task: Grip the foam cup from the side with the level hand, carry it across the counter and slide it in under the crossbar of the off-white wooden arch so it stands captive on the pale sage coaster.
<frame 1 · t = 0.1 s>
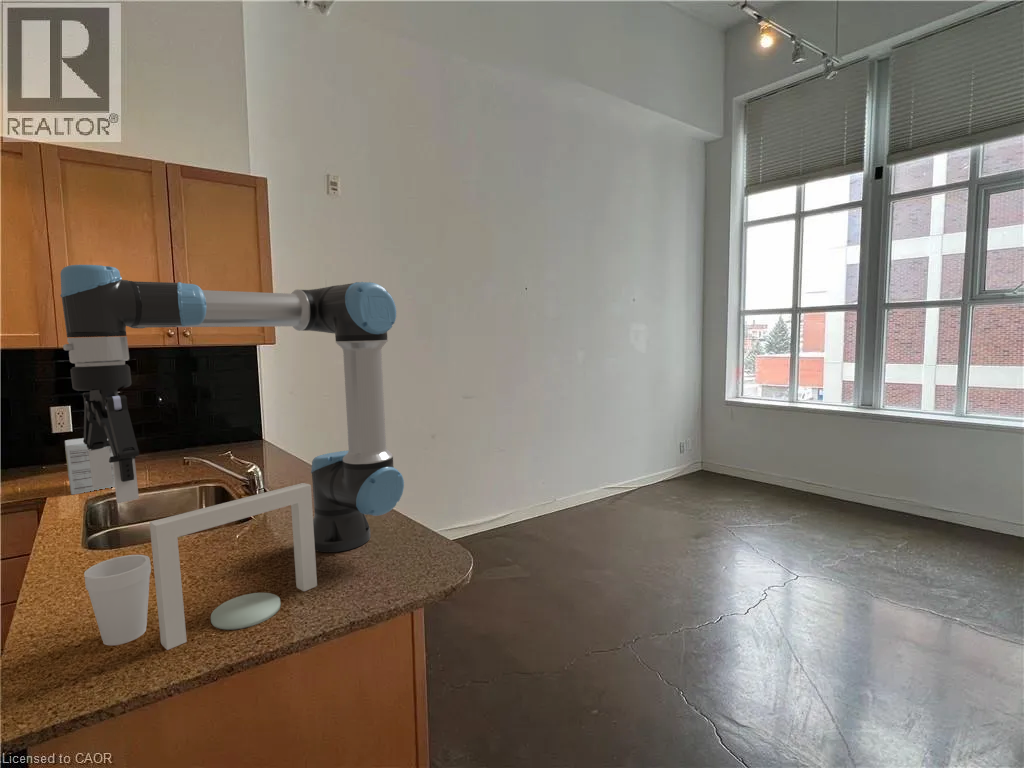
hand: (114, 493, 86), 28 cm above the worktop, tool pointing down, fingers open, 13 cm apart
foam cup: (125, 636, 94), on the worktop
supplement box: (93, 487, 189), on the worktop
keeper arch: (246, 612, 101), on the worktop
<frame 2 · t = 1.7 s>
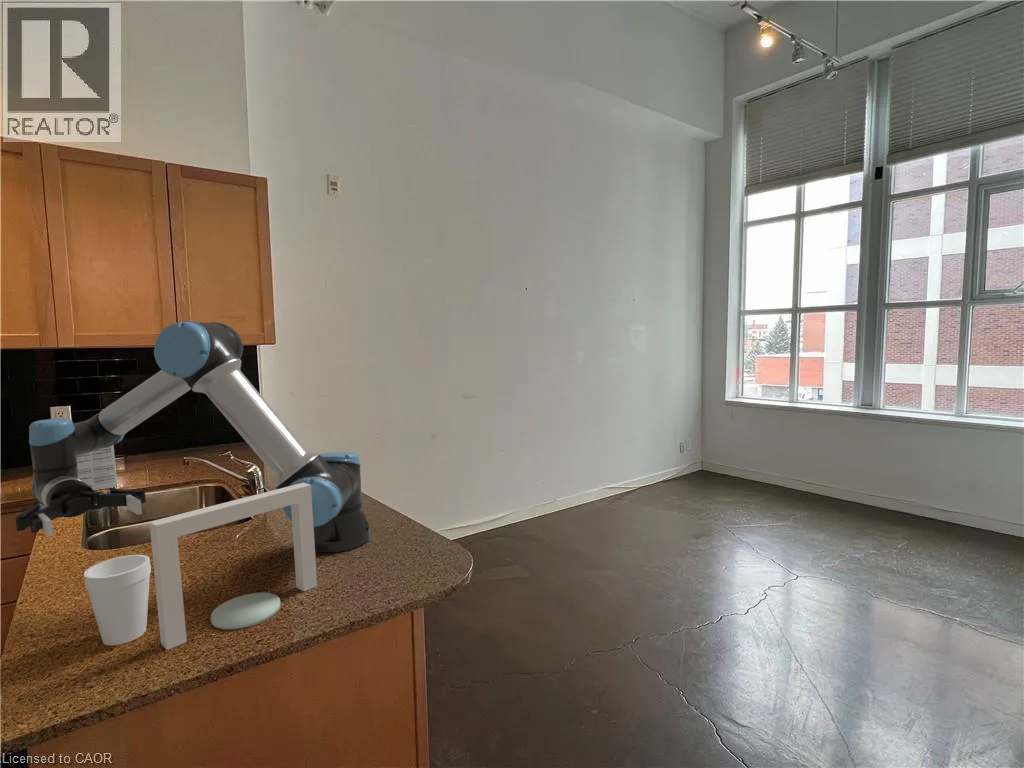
hand: (96, 517, 99), 20 cm above the worktop, tool horizontal, fingers open, 13 cm apart
nothing on the worktop moved.
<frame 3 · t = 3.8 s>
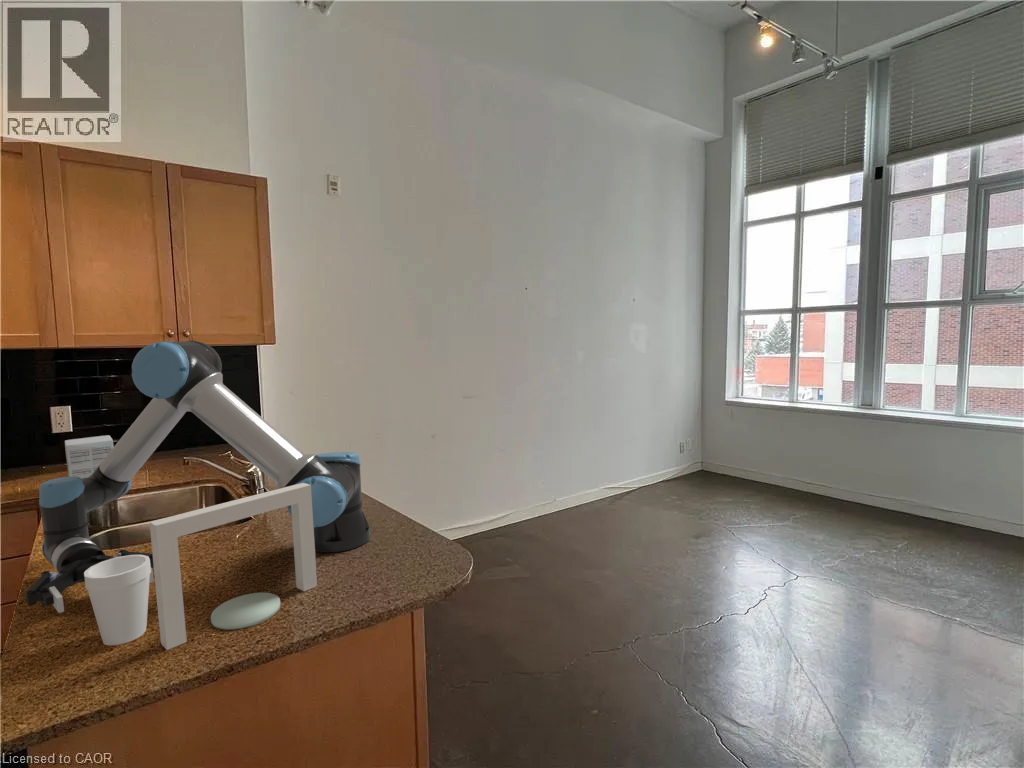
hand: (108, 589, 97), 7 cm above the worktop, tool horizontal, fingers open, 13 cm apart
nothing on the worktop moved.
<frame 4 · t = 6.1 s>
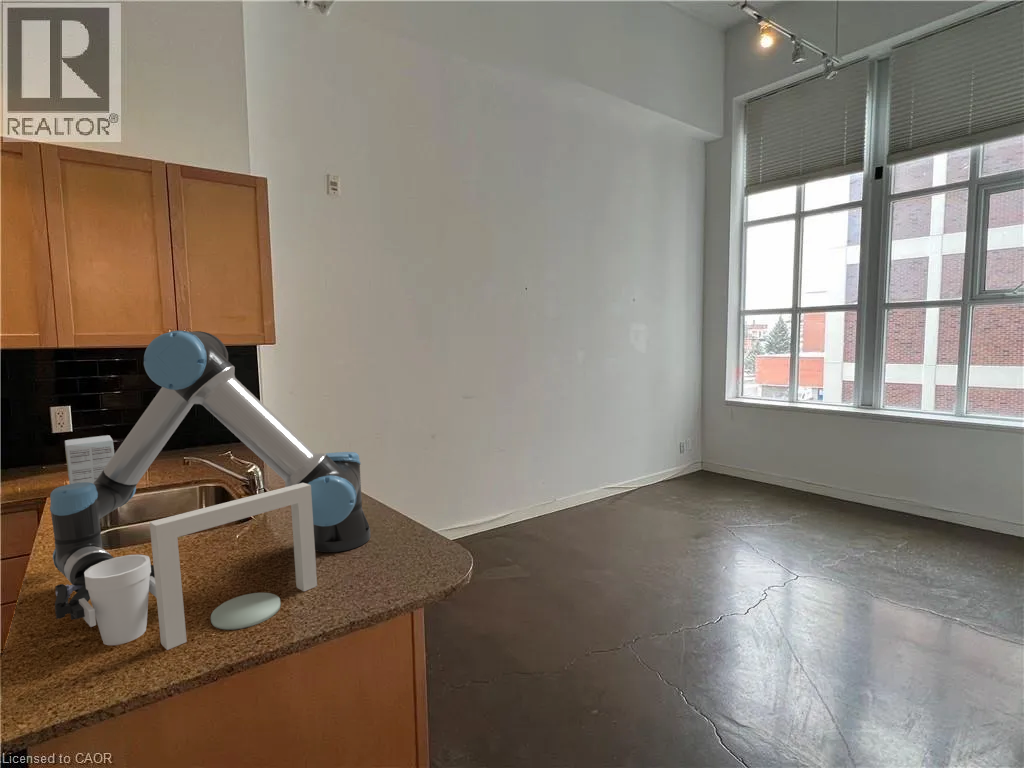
hand: (129, 605, 91), 7 cm above the worktop, tool horizontal, fingers closed on foam cup, 9 cm apart
foam cup: (125, 635, 94), on the worktop, touching gripper
everything else where it was.
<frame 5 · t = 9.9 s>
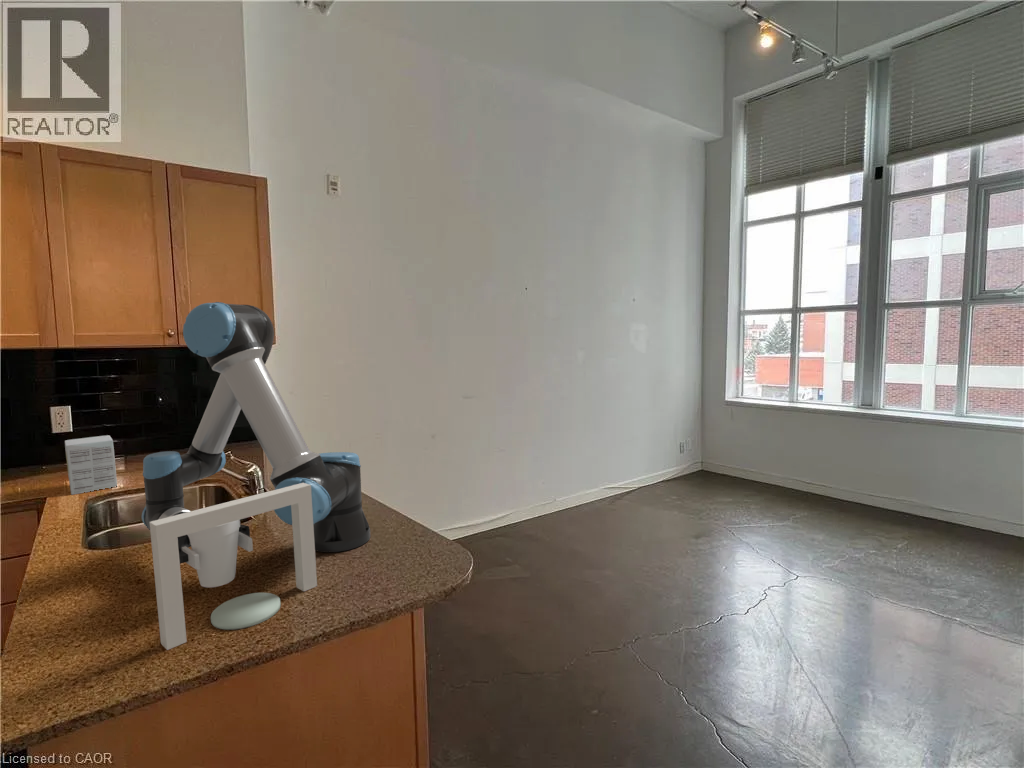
hand: (225, 553, 105), 10 cm above the worktop, tool horizontal, fingers closed on foam cup, 9 cm apart
foam cup: (217, 580, 108), point 3 cm above the worktop, touching gripper
everything else where it was.
when the fingers open (9 cm above the worktop, at t = 13.8 s): foam cup stays where it is, resting on keeper arch.
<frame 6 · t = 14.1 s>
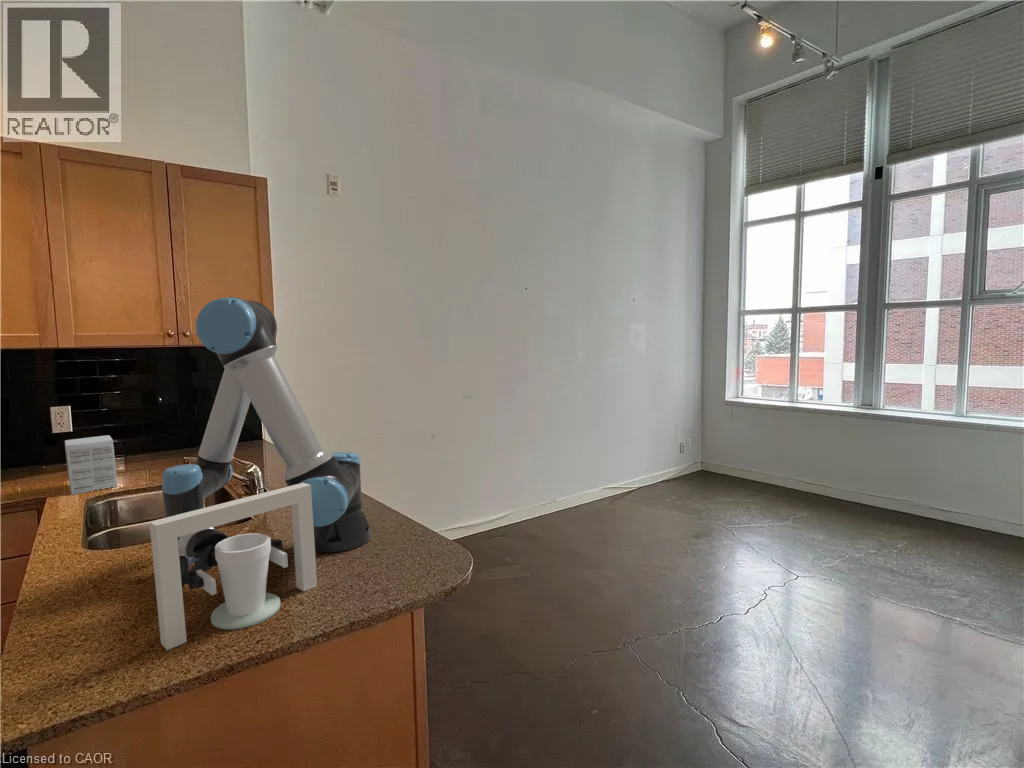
hand: (251, 573, 98), 9 cm above the worktop, tool horizontal, fingers open, 13 cm apart
foam cup: (246, 608, 101), point 1 cm above the worktop, touching keeper arch
everything else where it was.
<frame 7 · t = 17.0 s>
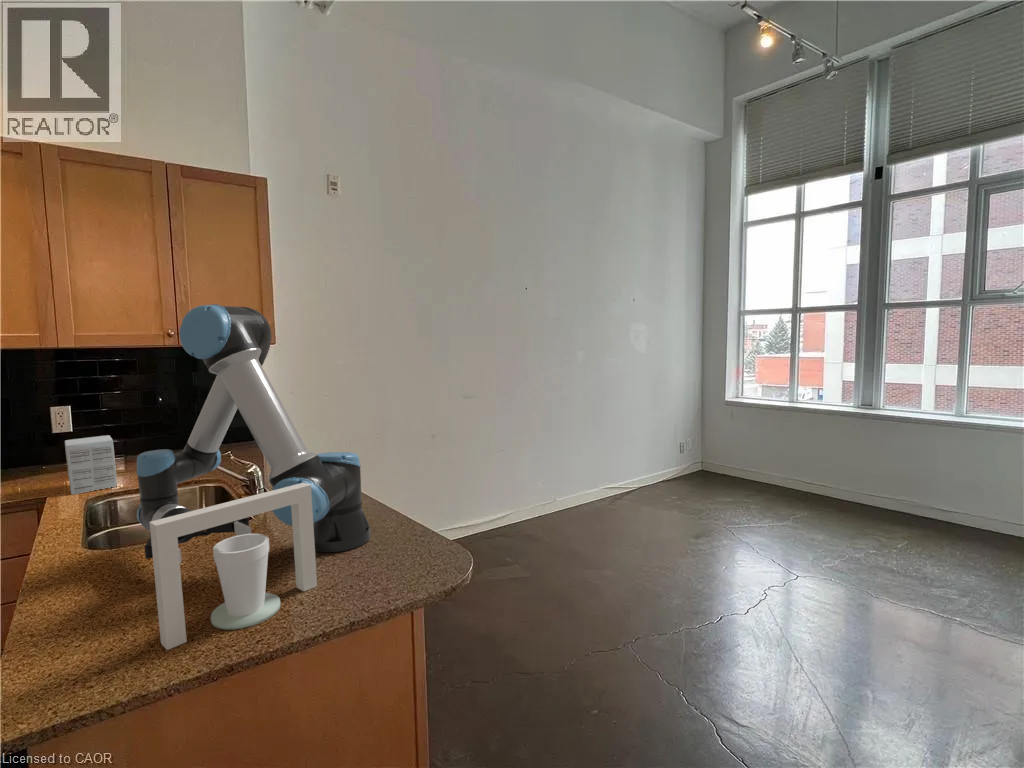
hand: (216, 544, 107), 11 cm above the worktop, tool horizontal, fingers open, 13 cm apart
nothing on the worktop moved.
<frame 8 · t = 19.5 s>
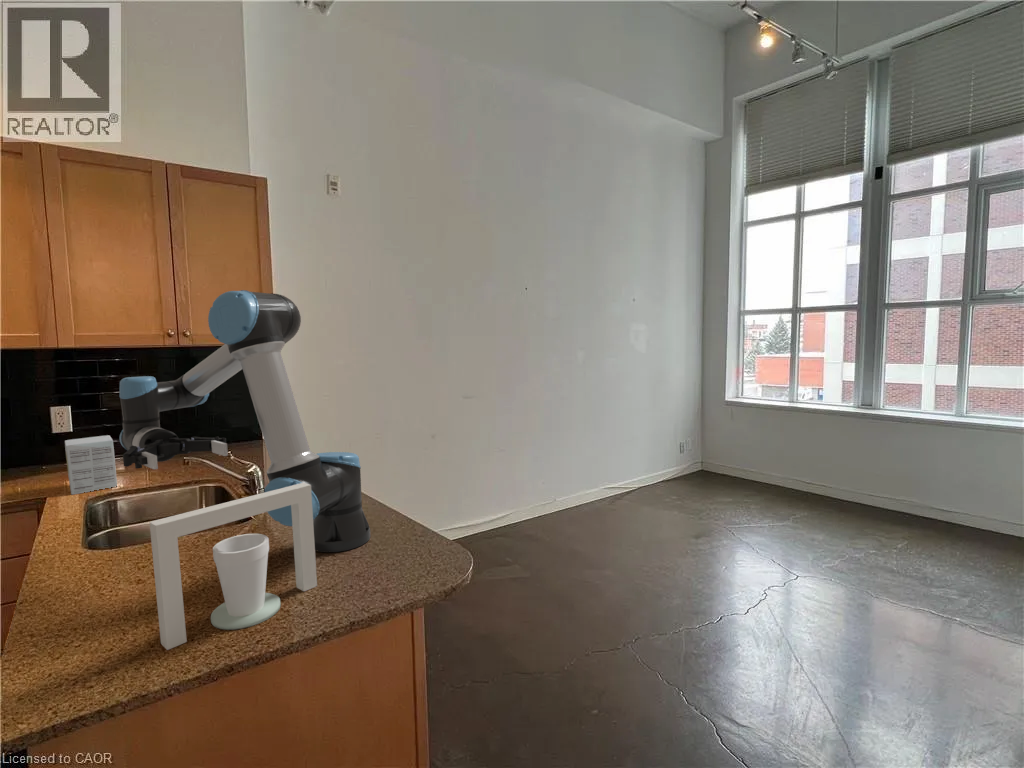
hand: (192, 455, 111), 28 cm above the worktop, tool horizontal, fingers open, 13 cm apart
nothing on the worktop moved.
at the end: foam cup 0.1 cm off-centre on the keeper arch, point 0.6 cm above the keeper arch's base; foam cup tilted 0°; the gripper is holding nothing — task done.
